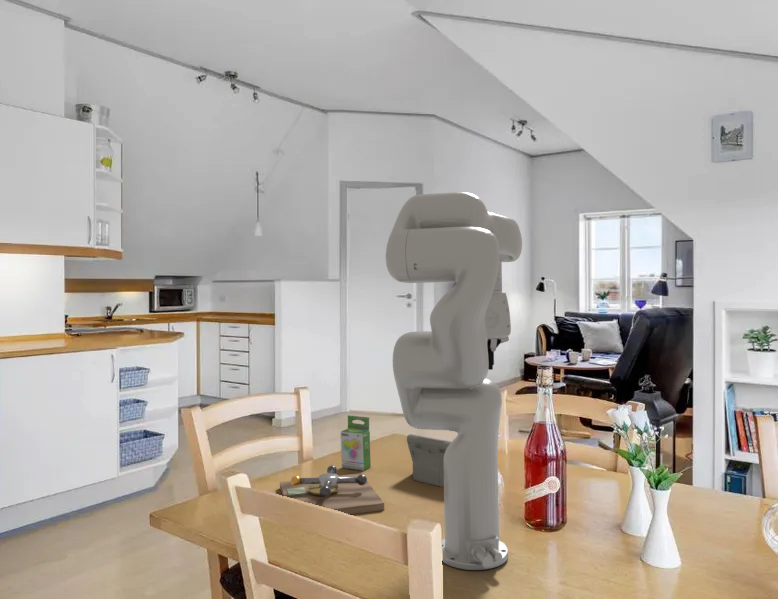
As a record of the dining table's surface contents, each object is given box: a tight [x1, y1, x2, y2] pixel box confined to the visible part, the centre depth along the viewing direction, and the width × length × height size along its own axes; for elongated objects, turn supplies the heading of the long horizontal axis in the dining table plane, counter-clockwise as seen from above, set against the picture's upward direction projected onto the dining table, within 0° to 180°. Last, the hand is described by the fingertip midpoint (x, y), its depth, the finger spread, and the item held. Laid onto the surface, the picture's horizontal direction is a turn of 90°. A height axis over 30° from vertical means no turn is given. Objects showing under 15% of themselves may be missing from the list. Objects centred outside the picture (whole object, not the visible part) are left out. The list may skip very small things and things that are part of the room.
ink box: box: [340, 414, 372, 472], centre depth 161 cm, size 7×4×13 cm, turn 61°
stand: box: [279, 473, 385, 515], centre depth 137 cm, size 22×20×2 cm
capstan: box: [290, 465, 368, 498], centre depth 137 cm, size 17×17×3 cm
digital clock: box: [406, 433, 453, 488], centre depth 149 cm, size 16×9×11 cm, turn 37°
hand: (486, 368), depth 135 cm, fingers closed
